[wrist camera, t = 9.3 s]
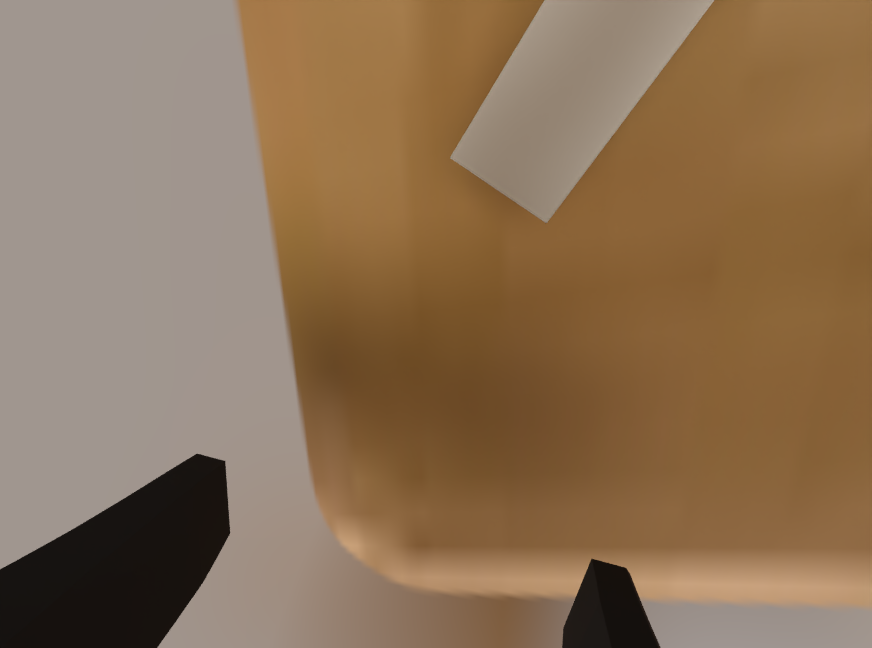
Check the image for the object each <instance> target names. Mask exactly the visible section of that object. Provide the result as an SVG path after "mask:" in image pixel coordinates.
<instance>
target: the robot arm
mask: <svg viewBox="0 0 872 648" xmlns="http://www.w3.org/2000/svg"><path fill="white" fill-rule="evenodd" d="M229 534H230V525H229V510H228V497H227V481H226V467H225V461H223V460H218V459H215V458H211V457H208V456H204V455H200V454H196V455H194V456H192V457H191V458H189V459H187V460H186V461H184V462H182V463H181V464H179V465H178V466H176V467H174V468H173V469H171V470H169V471H168V472H166V473H165V474H163V475H161V476H160V477H158V478H156V479H155V480H153V481H152V482H150V483H148V484H147V485H145V486H144V487H142V488H140V489H139V490H137V491H136V492H134V493H132V494H131V495H129V496H128V497H126V498H124V499H123V500H121V501H119V502H118V503H116V504H114V505H113V506H111V507H109V508H108V509H106V510H104V511H103V512H101V513H99V514H98V515H96V516H94V517H93V518H91V519H89V520H88V521H86V522H84V523H83V524H81V525H79V526H78V527H76V528H74V529H72V530H71V531H69V532H67V533H65V534H64V535H62V536H60V537H58V538H56V539H55V540H53V541H51V542H50V543H48V544H46V545H44V546H42V547H40V548H38V549H37V550H35V551H33V552H31V553H29V554H28V555H26V556H24V557H22V558H21V559H19V560H17V561H15V562H13V563H11V564H9V565H8V566H6V567H4V568H2V569H0V648H157V647H158V646H159V644H160V643H161V641H162V640H163V639H164V637H165V636H166V634H167V633H168V632H169V630H170V629H171V627H172V626H173V625H174V623H175V622H176V620H177V619H178V617H179V616H180V615H181V613H182V612H183V610H184V609H185V607H186V606H187V605H188V603H189V602H190V600H191V599H192V598H193V596H194V595H195V593H196V591H197V590H198V589H199V587H200V586H201V584H202V583H203V581H204V580H205V578H206V576H207V574H208V572H209V571H210V569H211V567H212V565H213V564H214V562H215V560H216V558H217V556H218V554H219V553H220V551H221V549H222V547H223V545H224V543H225V542H226V540H227V538H228V536H229ZM562 648H660V646H659V643H658V641H657V639H656V636H655V634H654V632H653V630H652V627H651V625H650V622H649V620H648V618H647V615H646V613H645V611H644V608H643V606H642V603H641V601H640V598H639V596H638V593H637V591H636V588H635V586H634V583H633V581H632V578H631V575H630V573H629V572H628V570H627V569H626V568H624V567H621V566H617V565H613V564H609V563H606V562H602V561H598V560H594V559H591V562H590V564H589V567H588V569H587V571H586V574H585V576H584V579H583V581H582V584H581V586H580V589H579V591H578V594H577V596H576V598H575V601H574V603H573V606H572V608H571V611H570V613H569V616H568V618H567V621H566V623H565V625H564V629H563V646H562Z"/></svg>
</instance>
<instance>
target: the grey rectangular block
mask: <svg viewBox="0 0 872 648" xmlns="http://www.w3.org/2000/svg"><path fill="white" fill-rule="evenodd" d="M713 1H714V0H545V1H544V2H543V4H542V6H541V7H540V9H539V11H538V12H537V14H536V15H535V17H534V19H533V20H532V22H531V24H530V25H529V27H528V29H527V30H526V32H525V34H524V35H523V37H522V39H521V40H520V42H519V44H518V45H517V47H516V49H515V50H514V52H513V54H512V55H511V57H510V59H509V60H508V62H507V64H506V65H505V67H504V69H503V70H502V72H501V74H500V75H499V77H498V79H497V80H496V82H495V84H494V85H493V87H492V89H491V90H490V92H489V94H488V95H487V97H486V99H485V100H484V102H483V104H482V105H481V107H480V109H479V110H478V112H477V114H476V115H475V117H474V119H473V120H472V122H471V124H470V125H469V127H468V129H467V130H466V132H465V134H464V135H463V137H462V139H461V140H460V142H459V144H458V145H457V147H456V149H455V150H454V152H453V154H452V155H451V157H450V158H451V159H452V160H454V161H455V162H457V163H458V164H460V165H461V166H463V167H464V168H466V169H467V170H469V171H470V172H472V173H473V174H474V175H476V176H477V177H479V178H480V179H482V180H483V181H485V182H486V183H488V184H489V185H491V186H492V187H494V188H495V189H497V190H498V191H500V192H501V193H502V194H504V195H505V196H507V197H508V198H510V199H511V200H513V201H514V202H516V203H517V204H519V205H520V206H522V207H523V208H525V209H526V210H528V211H529V212H530V213H532V214H533V215H535V216H536V217H538V218H539V219H541V220H542V221H544V222H545V223H547V222H548V221H549V219H550V218H551V217H552V215H553V214H554V213H555V211H556V210H557V209H558V207H559V206H560V205H561V203H562V202H563V201H564V199H565V198H566V197H567V195H568V194H569V193H570V191H571V190H572V189H573V187H574V186H575V185H576V183H577V182H578V181H579V179H580V178H581V177H582V175H583V174H584V173H585V171H586V170H587V169H588V167H589V166H590V165H591V163H592V162H593V161H594V159H595V158H596V157H597V155H598V154H599V153H600V152H601V150H602V149H603V148H604V146H605V145H606V144H607V142H608V141H609V140H610V138H611V137H612V136H613V134H614V133H615V132H616V130H617V129H618V128H619V126H620V125H621V124H622V122H623V121H624V120H625V118H626V117H627V116H628V114H629V113H630V112H631V110H632V109H633V108H634V106H635V105H636V104H637V102H638V101H639V100H640V98H641V97H642V96H643V94H644V93H645V92H646V90H647V89H648V88H649V86H650V85H651V84H652V82H653V81H654V80H655V78H656V77H657V76H658V74H659V73H660V72H661V70H662V69H663V68H664V66H665V65H666V64H667V62H668V61H669V60H670V58H671V57H672V56H673V54H674V53H675V52H676V50H677V49H678V48H679V47H680V45H681V44H682V43H683V41H684V40H685V39H686V37H687V36H688V35H689V33H690V32H691V31H692V29H693V28H694V27H695V25H696V24H697V23H698V21H699V20H700V19H701V17H702V16H703V15H704V13H705V12H706V11H707V9H708V8H709V7H710V5H711V4H712V3H713Z"/></svg>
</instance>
